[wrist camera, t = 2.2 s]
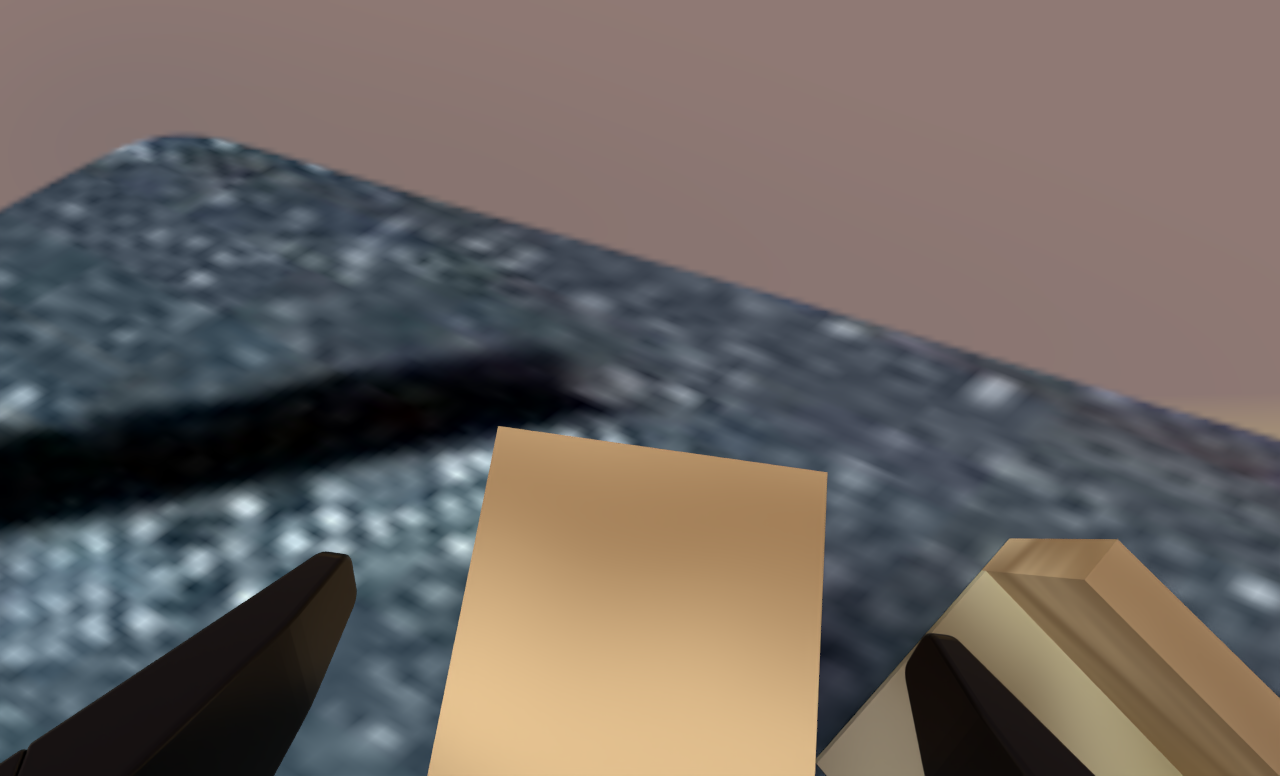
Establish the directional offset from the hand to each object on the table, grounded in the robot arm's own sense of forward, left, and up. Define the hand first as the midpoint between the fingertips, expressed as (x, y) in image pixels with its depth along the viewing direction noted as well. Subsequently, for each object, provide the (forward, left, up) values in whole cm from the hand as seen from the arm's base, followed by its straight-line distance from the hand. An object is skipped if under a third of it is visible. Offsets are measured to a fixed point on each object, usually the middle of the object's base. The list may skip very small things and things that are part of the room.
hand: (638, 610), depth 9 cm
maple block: (0, 0, -9) cm, 9 cm away
